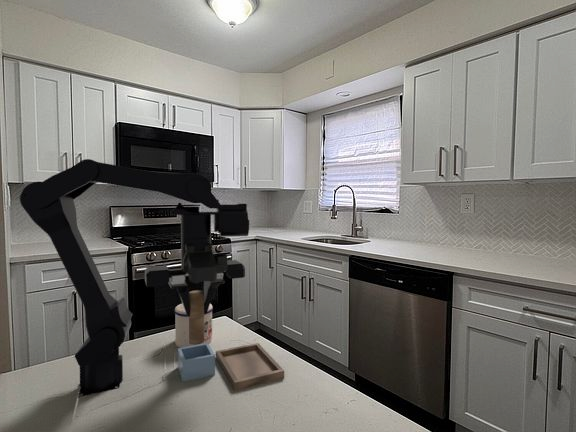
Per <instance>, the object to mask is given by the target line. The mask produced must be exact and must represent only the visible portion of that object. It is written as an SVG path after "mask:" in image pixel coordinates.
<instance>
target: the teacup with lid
mask: <svg viewBox="0 0 576 432" xmlns="http://www.w3.org/2000/svg"><path fill="white" fill-rule="evenodd" d="M213 310H214V307H213V305H212V304H211V303H210V305H209V308H208V311H207V314H204V342H203V343H201V344H206V343H208V344H209V345H210V344H211V343H212V341H213ZM173 312H174V315H175V326H174V327H175V328H174V329H175V337H174V339H175V342H174V344H175V346H176V347H178V348H184V347H189V346H195V345H193V344H190V343H189V317H187V315H186V312H185V309H184V306H183V304H182V303H180V304H178V305H177V306H175V308H174V311H173ZM197 345H200V344H197Z"/></svg>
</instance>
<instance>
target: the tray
mask: <svg viewBox="0 0 576 432" xmlns="http://www.w3.org/2000/svg"><path fill="white" fill-rule="evenodd" d="M215 360H217V362H218V364H219V367H220V368H221V369H222V371H223V373H224V374H225V376H226V379H228V382H229V384H230V385H231V386H232V388H233V390H234V391H238V390H243V389H246V388H251V387H254V386H258V385H261V384H265V383H266V384H267V383H270V382H273V381H278V380H281V379H285V370H284V369H283V368H282V366H281V365H280V364H279V363H278V362H277V361H276V360H275V359H274V358H273V357H272V356H271V355H270V353H269V352H267V350H265V348H264V347H263V346H262V345H261V344H260V343H259V342H256V343H251V344H244V345H240V346H235V347H231V348H225V349H220V350H215Z"/></svg>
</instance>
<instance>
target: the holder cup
mask: <svg viewBox="0 0 576 432" xmlns="http://www.w3.org/2000/svg"><path fill="white" fill-rule="evenodd" d="M177 368H178V373H179V376H180V379H181V382H182V383H185V382H189V381H194V380H198V379H202V378H207V377H211V376H215V375H216V353H215V352H214V351H213V349H212V348H211V345H210V344H208V343H206V344H200V345H195V346H189V347H184V348H180V347H178V348H177Z"/></svg>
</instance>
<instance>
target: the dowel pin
mask: <svg viewBox="0 0 576 432" xmlns="http://www.w3.org/2000/svg"><path fill="white" fill-rule="evenodd" d="M188 300H189V308H190V316H189V343H190V344H193V345H197V344H201V343H203V342H204V290H199V289H198V290H197V289H196V290H192V291H189V292H188Z"/></svg>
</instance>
